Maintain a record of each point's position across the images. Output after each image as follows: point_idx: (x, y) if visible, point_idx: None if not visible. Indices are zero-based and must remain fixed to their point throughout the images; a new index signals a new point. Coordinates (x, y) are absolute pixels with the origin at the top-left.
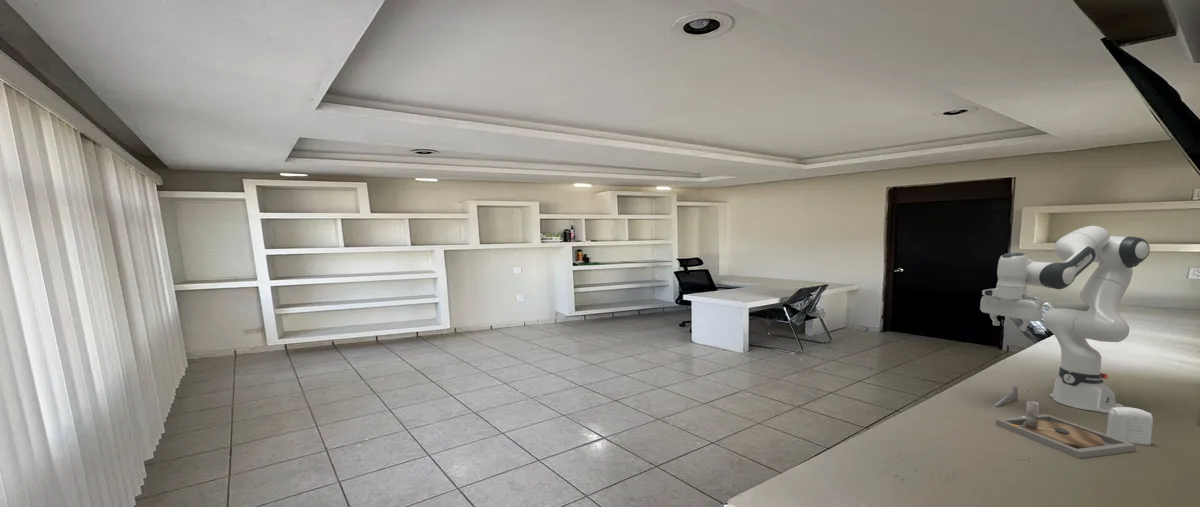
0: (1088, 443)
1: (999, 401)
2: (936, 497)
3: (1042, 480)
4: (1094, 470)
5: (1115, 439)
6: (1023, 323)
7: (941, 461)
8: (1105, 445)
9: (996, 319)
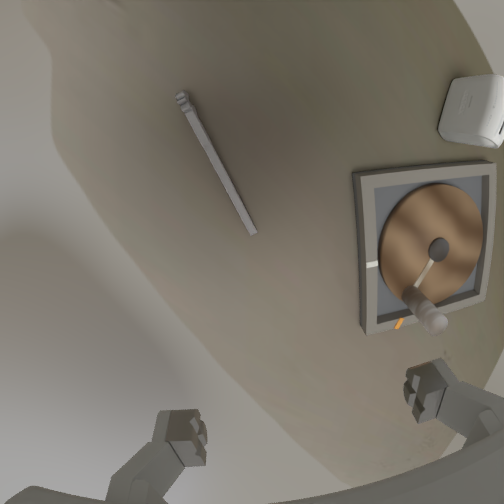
0: (475, 249)
1: (235, 200)
2: (440, 456)
3: (472, 373)
4: (490, 292)
5: (478, 174)
6: (465, 435)
7: (409, 440)
8: (487, 228)
9: (162, 460)
